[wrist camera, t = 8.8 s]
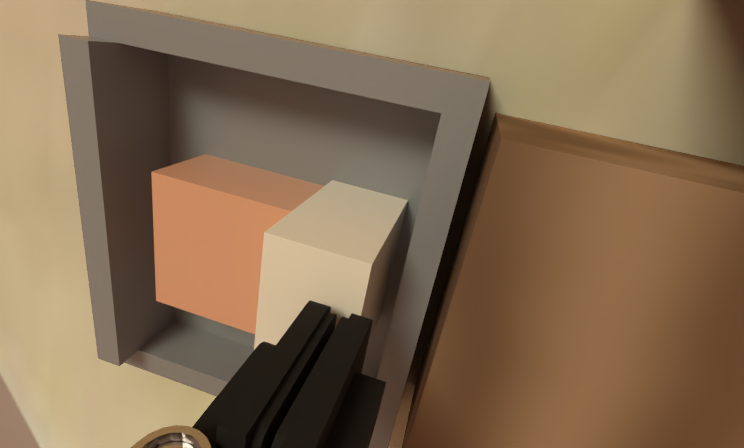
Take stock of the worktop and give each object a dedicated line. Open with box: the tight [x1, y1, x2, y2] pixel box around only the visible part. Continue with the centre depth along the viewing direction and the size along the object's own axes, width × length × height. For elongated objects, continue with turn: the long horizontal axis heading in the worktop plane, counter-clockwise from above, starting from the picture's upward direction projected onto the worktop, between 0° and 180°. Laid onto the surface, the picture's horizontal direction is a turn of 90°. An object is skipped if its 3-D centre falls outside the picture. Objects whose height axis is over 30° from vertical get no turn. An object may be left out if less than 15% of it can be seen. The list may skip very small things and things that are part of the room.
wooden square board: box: [402, 113, 744, 448], centre depth 12 cm, size 14×12×5 cm
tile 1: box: [151, 154, 324, 334], centre depth 15 cm, size 5×5×3 cm
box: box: [58, 0, 490, 448], centre depth 15 cm, size 12×14×4 cm
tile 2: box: [254, 180, 408, 350], centre depth 13 cm, size 5×5×3 cm
